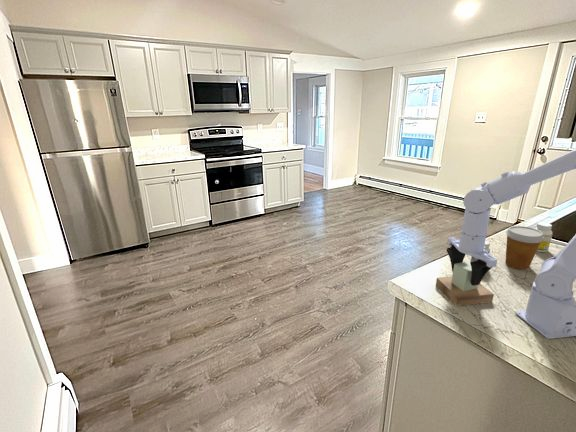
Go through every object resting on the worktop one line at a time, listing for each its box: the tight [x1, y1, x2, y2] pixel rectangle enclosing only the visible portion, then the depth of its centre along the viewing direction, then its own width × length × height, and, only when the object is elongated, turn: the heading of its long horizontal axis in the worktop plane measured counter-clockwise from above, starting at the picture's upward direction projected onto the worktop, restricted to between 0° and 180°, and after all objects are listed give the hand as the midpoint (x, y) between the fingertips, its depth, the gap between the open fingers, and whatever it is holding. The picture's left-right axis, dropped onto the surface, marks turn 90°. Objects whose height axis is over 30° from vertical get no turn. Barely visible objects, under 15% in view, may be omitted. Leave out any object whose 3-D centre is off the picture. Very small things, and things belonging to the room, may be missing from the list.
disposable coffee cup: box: [505, 225, 544, 270], centre depth 97 cm, size 10×10×12 cm
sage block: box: [451, 261, 478, 291], centre depth 84 cm, size 4×4×6 cm
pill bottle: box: [469, 239, 491, 262], centre depth 99 cm, size 5×5×8 cm
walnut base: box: [435, 275, 495, 306], centre depth 85 cm, size 10×10×2 cm
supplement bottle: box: [534, 221, 553, 253], centre depth 107 cm, size 5×5×10 cm
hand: (465, 278), depth 84 cm, fingers open, 6 cm apart
